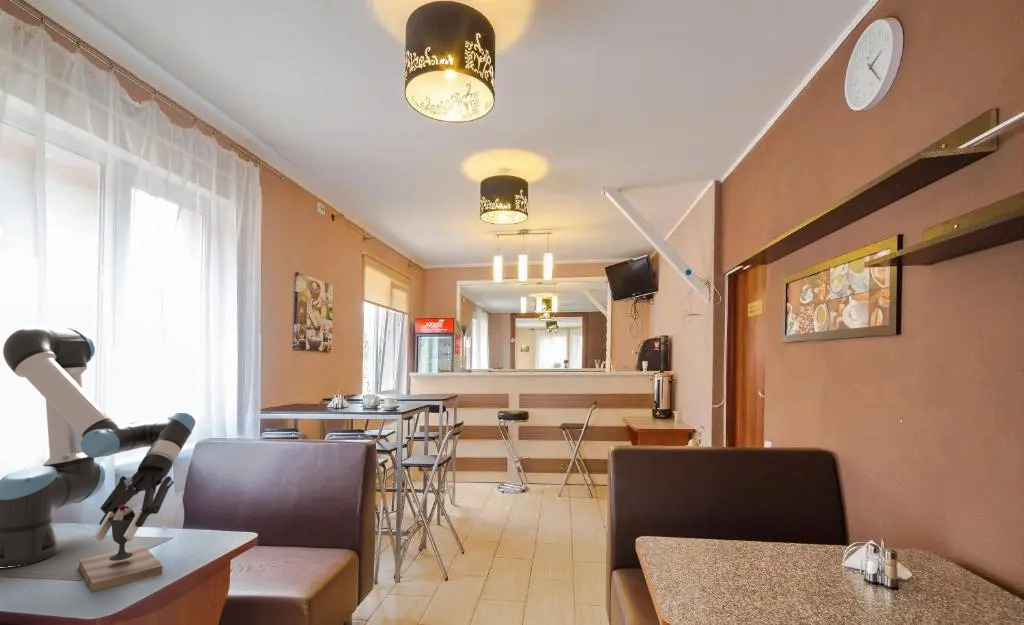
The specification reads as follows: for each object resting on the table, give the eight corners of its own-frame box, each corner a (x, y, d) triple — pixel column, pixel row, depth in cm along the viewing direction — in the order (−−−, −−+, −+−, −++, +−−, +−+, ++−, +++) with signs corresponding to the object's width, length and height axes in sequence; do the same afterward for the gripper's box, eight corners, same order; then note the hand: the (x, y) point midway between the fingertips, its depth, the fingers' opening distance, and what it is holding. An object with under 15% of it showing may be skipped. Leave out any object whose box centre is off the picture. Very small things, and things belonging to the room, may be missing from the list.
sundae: (108, 554, 132) (113, 496, 133) (139, 550, 135) (143, 493, 136) (100, 563, 126) (105, 503, 127) (133, 559, 129) (137, 500, 130)
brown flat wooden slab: (78, 567, 132) (79, 559, 132) (143, 552, 142) (143, 545, 142) (91, 592, 118) (92, 583, 118) (162, 573, 128) (162, 565, 129)
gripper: (198, 467, 148) (157, 545, 130) (130, 467, 147) (80, 545, 129) (188, 452, 143) (145, 531, 125) (118, 452, 142) (65, 531, 124)
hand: (112, 538), depth 127 cm, fingers closed on sundae, 6 cm apart
